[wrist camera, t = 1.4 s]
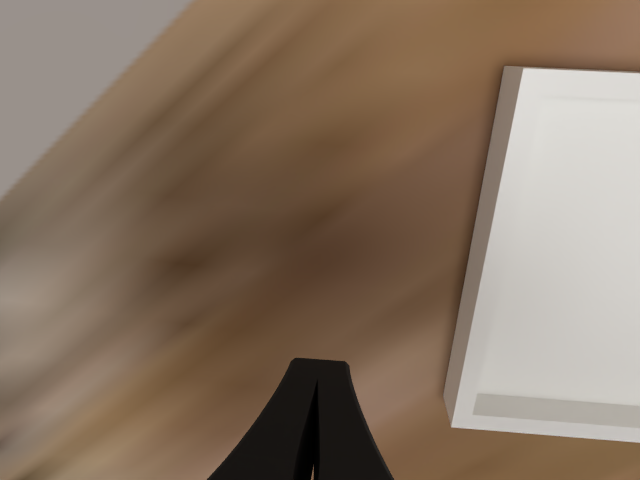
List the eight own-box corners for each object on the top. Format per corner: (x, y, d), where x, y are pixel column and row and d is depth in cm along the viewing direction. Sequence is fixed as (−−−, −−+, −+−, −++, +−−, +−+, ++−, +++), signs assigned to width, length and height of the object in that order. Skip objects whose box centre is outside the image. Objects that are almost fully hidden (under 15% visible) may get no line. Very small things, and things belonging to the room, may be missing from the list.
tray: (442, 395, 22) (451, 427, 20) (504, 65, 16) (523, 67, 14) (698, 415, 22) (731, 450, 20) (858, 81, 16) (925, 85, 14)
